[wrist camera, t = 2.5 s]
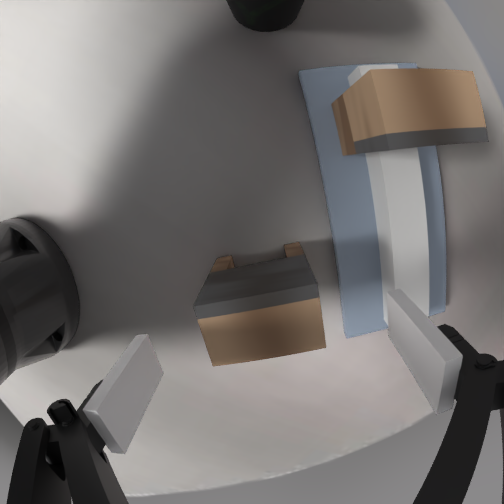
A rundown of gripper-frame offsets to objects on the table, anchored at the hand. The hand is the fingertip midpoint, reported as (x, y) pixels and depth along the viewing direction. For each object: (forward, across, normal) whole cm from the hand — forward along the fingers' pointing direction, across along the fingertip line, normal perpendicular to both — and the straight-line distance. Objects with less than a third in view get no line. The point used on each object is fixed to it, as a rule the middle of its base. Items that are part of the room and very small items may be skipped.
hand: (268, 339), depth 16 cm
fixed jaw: (+9, +11, +10) cm, 17 cm away
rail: (+10, +11, +4) cm, 15 cm away
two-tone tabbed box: (+10, 0, 0) cm, 10 cm away
